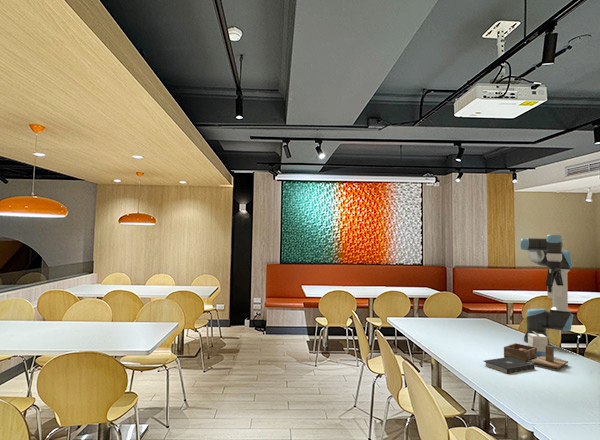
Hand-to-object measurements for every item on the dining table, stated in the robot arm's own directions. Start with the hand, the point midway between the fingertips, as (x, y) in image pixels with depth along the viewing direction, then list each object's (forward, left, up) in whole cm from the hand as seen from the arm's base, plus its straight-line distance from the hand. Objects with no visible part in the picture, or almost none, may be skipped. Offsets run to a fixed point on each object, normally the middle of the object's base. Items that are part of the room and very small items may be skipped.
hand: (554, 297), depth 223 cm
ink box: (-8, -12, -37) cm, 40 cm away
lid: (+12, +1, -36) cm, 38 cm away
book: (+36, -11, -38) cm, 53 cm away
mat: (+12, +1, -37) cm, 39 cm away
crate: (+10, -15, -37) cm, 41 cm away
